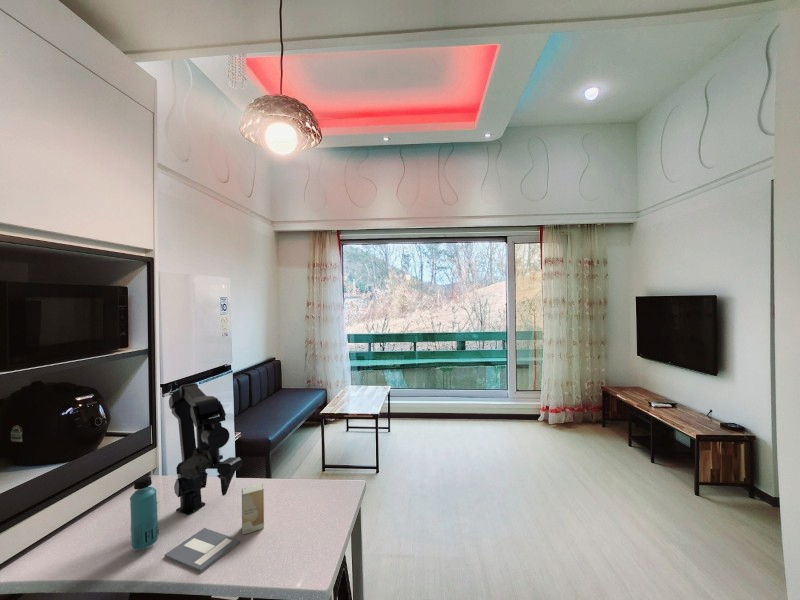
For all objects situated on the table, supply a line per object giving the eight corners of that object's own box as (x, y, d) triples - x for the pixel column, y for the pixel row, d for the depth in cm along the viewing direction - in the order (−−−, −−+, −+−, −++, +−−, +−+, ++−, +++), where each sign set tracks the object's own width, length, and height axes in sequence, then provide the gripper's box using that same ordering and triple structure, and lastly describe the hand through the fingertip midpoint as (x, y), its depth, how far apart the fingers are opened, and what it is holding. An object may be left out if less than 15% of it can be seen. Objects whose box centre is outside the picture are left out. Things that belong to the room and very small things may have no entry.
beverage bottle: (144, 557, 96) (141, 485, 96) (124, 554, 97) (122, 483, 97) (164, 541, 102) (162, 473, 102) (146, 538, 103) (143, 472, 103)
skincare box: (242, 535, 103) (241, 494, 103) (241, 527, 107) (240, 487, 107) (265, 528, 106) (264, 488, 106) (263, 520, 110) (262, 482, 110)
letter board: (164, 557, 95) (164, 554, 95) (204, 530, 106) (204, 527, 106) (201, 572, 89) (201, 569, 89) (239, 542, 100) (239, 539, 100)
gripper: (158, 452, 98) (161, 508, 97) (214, 452, 94) (217, 511, 93) (190, 438, 109) (193, 489, 108) (241, 437, 104) (245, 490, 104)
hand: (211, 494), depth 103 cm, fingers open, 9 cm apart
